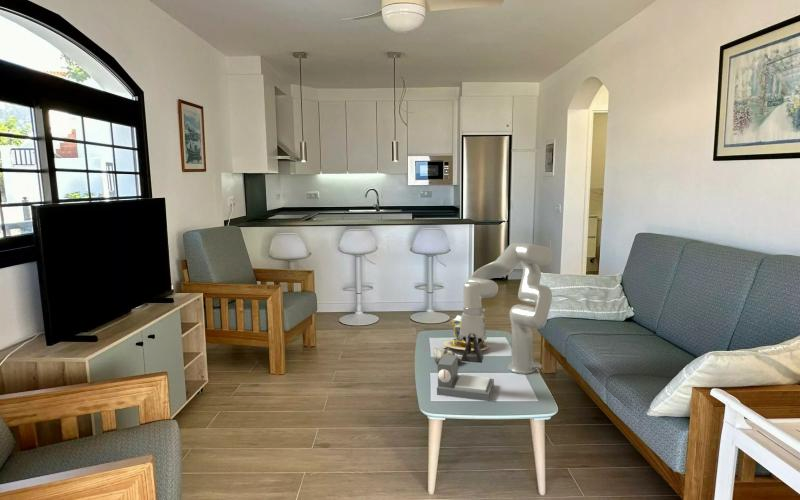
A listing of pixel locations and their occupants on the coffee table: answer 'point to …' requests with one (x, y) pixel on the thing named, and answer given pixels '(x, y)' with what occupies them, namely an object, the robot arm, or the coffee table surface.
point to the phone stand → (477, 350)
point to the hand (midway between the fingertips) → (472, 352)
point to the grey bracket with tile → (461, 381)
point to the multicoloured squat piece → (459, 342)
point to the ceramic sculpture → (439, 354)
